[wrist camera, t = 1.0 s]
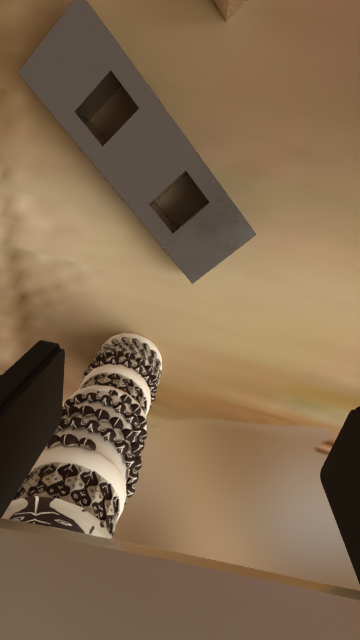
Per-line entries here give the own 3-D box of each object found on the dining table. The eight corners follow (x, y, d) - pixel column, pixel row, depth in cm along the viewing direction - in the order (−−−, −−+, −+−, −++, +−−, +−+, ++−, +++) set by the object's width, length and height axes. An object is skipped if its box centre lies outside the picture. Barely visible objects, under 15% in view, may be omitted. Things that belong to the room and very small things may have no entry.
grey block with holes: (96, 16, 29) (80, -9, 25) (251, 229, 35) (256, 234, 31) (39, 85, 31) (17, 72, 28) (193, 274, 38) (192, 283, 34)
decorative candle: (84, 367, 44) (-52, 570, 21) (118, 316, 40) (0, 490, 17) (141, 401, 45) (73, 626, 22) (178, 354, 42) (142, 562, 19)
